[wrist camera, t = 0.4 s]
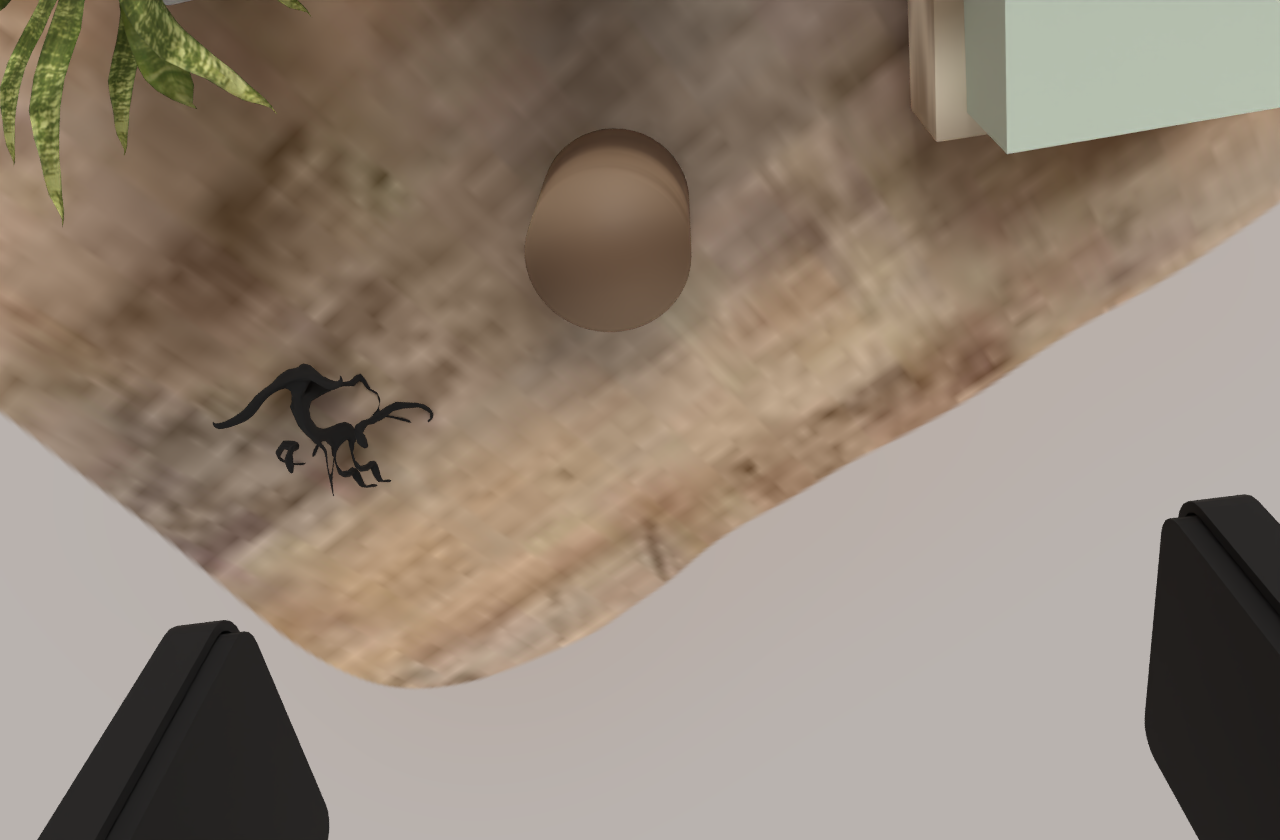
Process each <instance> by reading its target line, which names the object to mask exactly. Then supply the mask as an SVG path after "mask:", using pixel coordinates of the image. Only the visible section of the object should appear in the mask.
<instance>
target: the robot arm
mask: <svg viewBox="0 0 1280 840" xmlns="http://www.w3.org/2000/svg"><path fill="white" fill-rule="evenodd" d="M1145 731H1146V736H1147V740H1148V744H1149V747H1150V750H1151V752H1152V755H1153V757H1154V759H1155V761H1156V763H1157V764H1158V766H1159V768H1160V770H1161V772H1162V773H1163V775H1164V777H1165V779H1166V781H1167V783H1168V784H1169V786H1170V788H1171V790H1172V791H1173V793H1174V795H1175V797H1176V799H1177V801H1178V802H1179V804H1180V806H1181V808H1182V810H1183V811H1184V813H1185V815H1186V817H1187V819H1188V821H1189V822H1190V824H1191V826H1192V828H1193V830H1194V831H1195V833H1196V835H1197V836H1198V839H1199V840H1280V524H1279V523H1278V522H1277V521H1276V520H1275V519H1274V517H1273V516H1272V515H1271V514H1270V513H1269V512H1268V511H1267V510H1266V509H1265V508H1264V507H1263V506H1262V505H1261V503H1260V502H1259V501H1257V500H1256V499H1255V498H1254V497H1252V496H1250V495H1236V496H1228V497H1219V498H1212V499H1203V500H1196V501H1188V502H1186V503H1184V504H1183V506H1182V507H1181V509H1180V511H1179V517H1178V518H1170V519H1167V520H1165V522H1164V524H1163V527H1162V532H1161V542H1160V554H1159V564H1158V576H1157V586H1156V598H1155V609H1154V620H1153V631H1152V642H1151V654H1150V664H1149V675H1148V686H1147V698H1146V708H1145ZM328 834H329V816H328V810H327V807H326V804H325V802H324V799H323V797H322V795H321V792H320V790H319V788H318V785H317V783H316V780H315V778H314V776H313V773H312V771H311V769H310V767H309V764H308V762H307V759H306V757H305V755H304V752H303V750H302V748H301V746H300V743H299V740H298V738H297V736H296V733H295V731H294V729H293V726H292V724H291V722H290V719H289V717H288V715H287V712H286V710H285V708H284V705H283V703H282V700H281V698H280V696H279V694H278V691H277V689H276V686H275V684H274V682H273V679H272V677H271V675H270V672H269V670H268V668H267V665H266V663H265V661H264V658H263V656H262V654H261V651H260V649H259V646H258V644H257V642H256V640H255V638H254V637H253V635H251V634H250V633H249V632H240V631H239V630H238V628H237V626H236V625H234V624H233V623H232V622H231V621H226V620H222V621H213V622H205V623H197V624H189V625H181V626H176V627H173V628H171V629H170V630H169V631H168V632H167V633H166V634H165V635H164V637H163V639H162V640H161V642H160V643H159V645H158V647H157V648H156V650H155V651H154V653H153V655H152V656H151V658H150V660H149V661H148V663H147V664H146V666H145V668H144V669H143V671H142V673H141V674H140V676H139V677H138V679H137V680H136V682H135V684H134V686H133V687H132V689H131V690H130V692H129V693H128V695H127V697H126V698H125V700H124V702H123V703H122V705H121V706H120V708H119V710H118V711H117V713H116V714H115V716H114V717H113V719H112V721H111V722H110V724H109V725H108V727H107V729H106V730H105V732H104V734H103V735H102V737H101V738H100V740H99V742H98V743H97V745H96V746H95V748H94V750H93V751H92V753H91V754H90V756H89V758H88V760H87V761H86V763H85V764H84V766H83V767H82V769H81V771H80V772H79V774H78V775H77V777H76V779H75V780H74V782H73V783H72V785H71V787H70V789H69V790H68V791H67V793H66V795H65V796H64V798H63V800H62V801H61V803H60V804H59V806H58V807H57V809H56V811H55V812H54V814H53V816H52V817H51V819H50V820H49V822H48V824H47V825H46V827H45V828H44V830H43V832H42V833H41V835H40V837H39V838H38V840H328Z"/></svg>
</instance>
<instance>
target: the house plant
mask: <svg viewBox="0 0 1280 840" xmlns="http://www.w3.org/2000/svg"><path fill="white" fill-rule="evenodd" d="M10 1H11V0H0V11H1V10H2V9H3V8H5V7H6V6H7V4H8V3H9V2H10ZM56 1H57V0H39V3H38V5H37V7H36V9H35V11H34V13H33V14H32V16H31V18H30V20H29V22H28V24H27V26H26V27H25V29H24V31H23V33H22V35H21V37H20V39H19V41H18V43H17V45H16V47H15V49H14V51H13V53H12V55H11V57H10V59H9V61H8V64H7V67H6V70H5V73H4V77H3V80H2V83H1V86H0V108H1V114H2V120H3V129H4V136H5V141H6V145H7V148H8V150H9V152H10V155H11V157H12V159H13V162H14V163H15V148H14V143H15V113H16V106H17V100H18V94H19V88H20V85H21V81H22V77H23V73H24V70H25V67H26V65H27V62H28V60H29V58H30V55H31V53H32V51H33V49H34V47H35V45H36V43H37V41H38V40H39V38H40V36H41V34H42V32H43V30H44V27H45V25H46V23H47V20H48V18H49V16H50V13H51V11H52V9H53V7H54V5H55V3H56ZM84 1H85V0H59V1H58V5H57V7H56V10H55V13H54V16H53V19H52V22H51V24H50V27H49V30H48V33H47V36H46V39H45V42H44V45H43V48H42V51H41V54H40V57H39V61H38V64H37V68H36V71H35V74H34V79H33V86H32V93H31V100H30V107H29V114H30V119H31V125H32V130H33V135H34V140H35V143H36V147H37V150H38V153H39V157H40V161H41V165H42V170H43V175H44V179H45V183H46V186H47V189H48V193H49V195H50V197H51V199H52V201H53V203H54V205H55V206H56V208H57V210H58V212H59V214H60V216H61V218H62V227H63V221H64V208H63V199H62V186H61V171H60V161H59V122H60V104H61V98H62V91H63V85H64V78H65V75H66V72H67V69H68V66H69V62H70V59H71V56H72V53H73V50H74V47H75V44H76V41H77V39H78V36H79V33H80V30H81V24H82V16H83V8H84ZM187 1H192V0H119V2H120V11H121V12H120V22H119V29H118V35H117V41H116V46H115V50H114V54H113V58H112V63H111V68H110V73H109V79H108V85H109V92H110V99H111V103H112V108H113V113H114V123H115V128H116V133H117V136H118V138H119V140H120V142H121V144H122V146H123V148H124V155H125V152H126V148H127V134H128V125H129V109H130V103H131V97H132V90H133V84H134V78H135V74H136V69H137V66H138V68H139V70H140V72H141V73H142V75H143V77H144V79H145V80H146V81H147V82H148V83H149V84H150V85H151V86H152V87H153V88H154V89H156V90H157V91H158V92H160V93H162V94H163V95H165V96H167V97H168V98H170V99H172V100H175V101H177V102H179V103H182V104H184V105H187V106H189V107H193V108H196V107H195V106H194V105H193V104H192V103H193V89H194V84H193V81H192V78H191V75H190V72H191V73H193V74H196V75H198V76H200V77H203V78H205V79H207V80H209V81H211V82H212V83H214V84H215V85H217V86H219V87H220V88H222V89H224V90H225V91H227V92H229V93H231V94H233V95H234V96H236V97H238V98H240V99H242V100H245V101H249V102H253V103H257V104H260V105H264V106H267V107H270V108H271V109H272V110H273V111H274V109H273V108H272V106H271V105H270V104H269V103H268V102H267V100H266V99H265V98H264V97H262V96H261V95H260V94H259V93H258V92H257V91H255V90H254V89H253V88H252V87H251V86H250V85H249V84H247V83H246V82H245V81H244V80H243V79H242V78H241V77H240V76H239V75H238V74H237V73H235V72H234V71H233V70H232V69H231V68H229V67H228V66H227V65H225V64H224V63H223V62H221V61H220V60H219V59H218V58H216V57H215V56H214V55H213V54H212V53H210V52H209V51H208V50H207V49H206V48H205V47H203V46H202V45H201V44H200V43H199V42H198V41H196V40H195V39H194V38H193V37H192V36H191V35H189V34H188V33H187V32H186V31H185V30H183V28H182V27H181V26H180V25H179V24H178V23H177V22H176V20H175V19H174V17H173V16H172V15H171V13H170V12H169V10H168V9H167V8H166V6H165V5H174V4H179V3H183V2H187ZM278 1H279V2H281V3H282V4H284V5H286V6H287V7H289V8H293V9H297V10H301V11H304V12H307V13H308V14H309V12H308V11H307V9H306V8H305V7H304V6H303V5H302V4H301V3H300V2H299V1H298V0H278ZM309 15H310V14H309ZM310 16H311V15H310ZM196 109H197V108H196ZM274 112H275V111H274ZM275 113H276V112H275ZM276 114H277V113H276Z"/></svg>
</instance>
